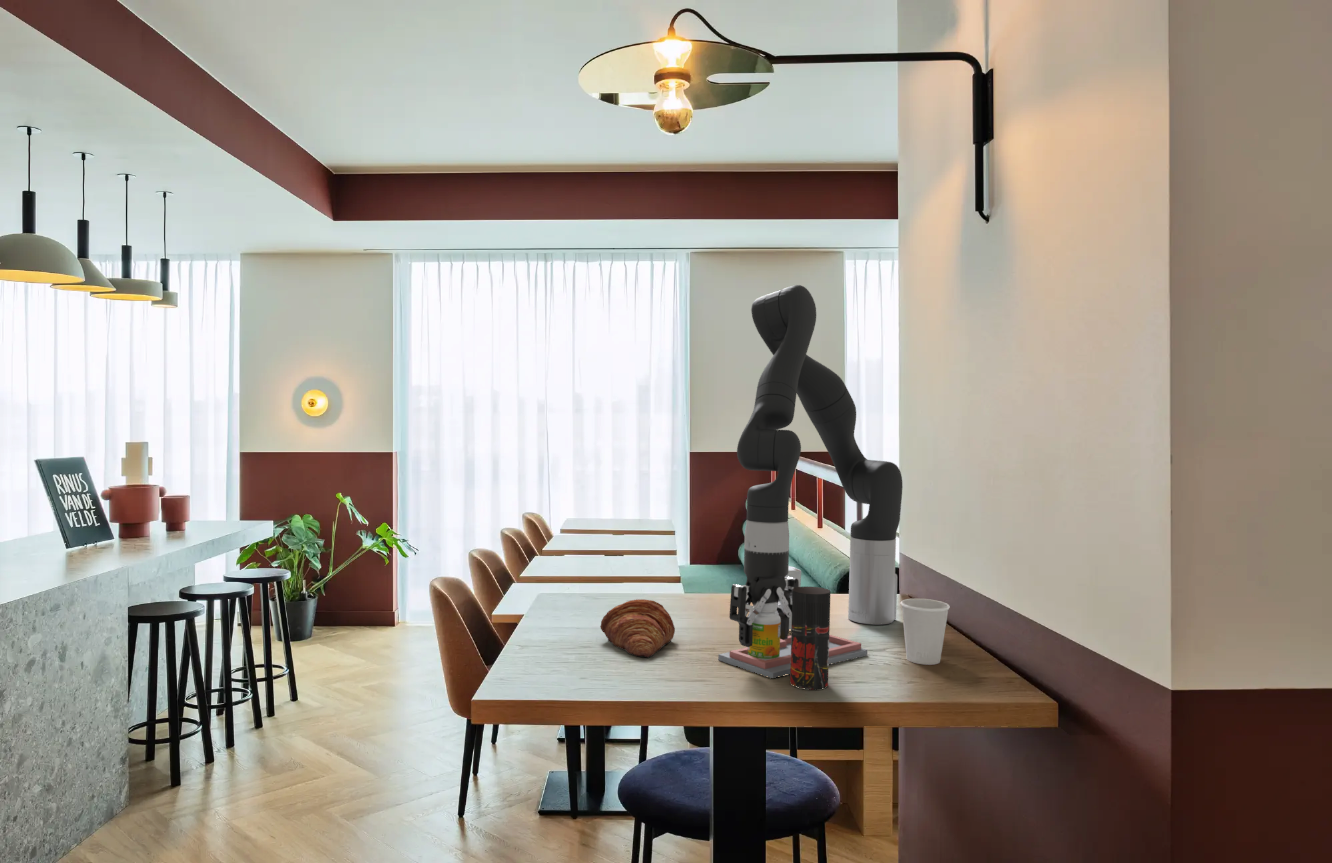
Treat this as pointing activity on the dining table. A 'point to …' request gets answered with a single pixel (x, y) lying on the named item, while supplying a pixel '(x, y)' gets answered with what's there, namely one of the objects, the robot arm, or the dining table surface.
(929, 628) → the dixie cup
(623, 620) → the pastry
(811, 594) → the deodorant
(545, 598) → the dining table surface
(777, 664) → the pink-rimmed grey tray
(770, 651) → the supplement bottle
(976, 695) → the dining table surface
